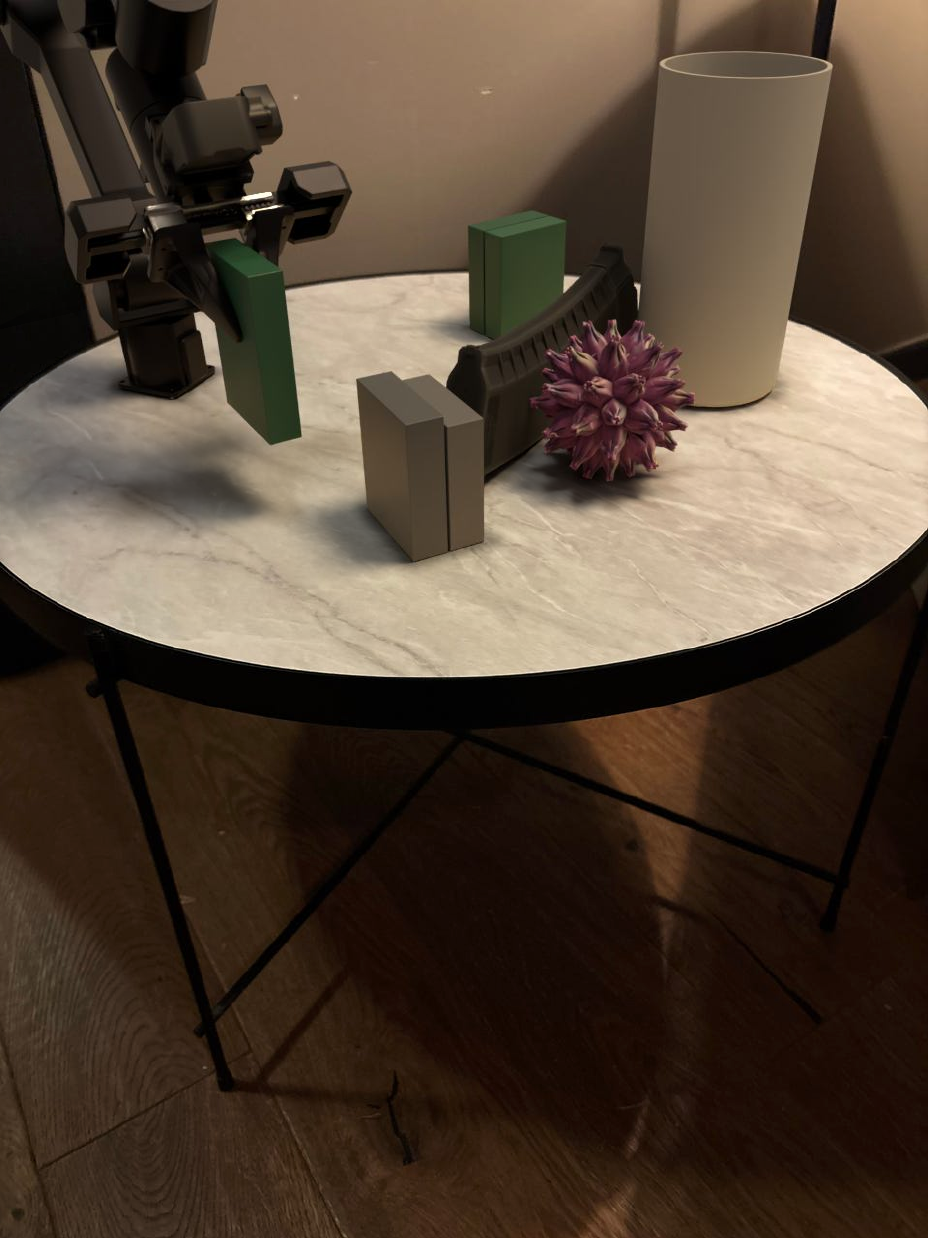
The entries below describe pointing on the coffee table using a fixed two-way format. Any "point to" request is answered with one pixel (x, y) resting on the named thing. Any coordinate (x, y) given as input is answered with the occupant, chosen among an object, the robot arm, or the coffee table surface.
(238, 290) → the green book
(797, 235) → the cylinder vase
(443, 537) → the grey books
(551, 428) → the flower
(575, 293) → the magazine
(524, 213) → the green books
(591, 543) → the coffee table surface
